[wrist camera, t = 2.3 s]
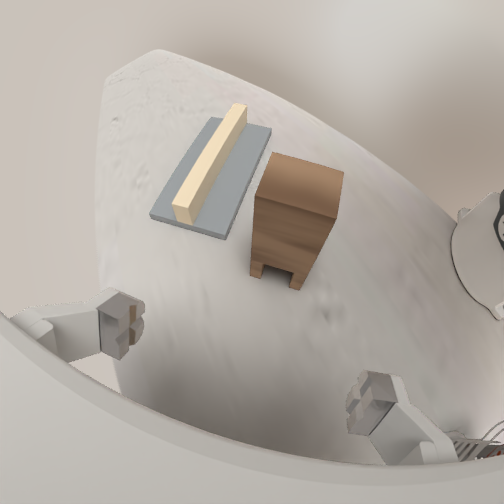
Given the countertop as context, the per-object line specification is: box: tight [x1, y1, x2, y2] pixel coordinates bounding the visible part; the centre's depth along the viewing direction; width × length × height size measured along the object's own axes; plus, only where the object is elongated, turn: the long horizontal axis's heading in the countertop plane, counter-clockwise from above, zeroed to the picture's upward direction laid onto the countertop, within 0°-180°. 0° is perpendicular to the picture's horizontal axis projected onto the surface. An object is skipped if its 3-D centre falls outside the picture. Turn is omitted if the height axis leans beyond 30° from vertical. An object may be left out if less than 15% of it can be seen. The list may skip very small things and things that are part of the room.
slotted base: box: [149, 103, 272, 240], centre depth 36 cm, size 20×10×5 cm, turn 163°
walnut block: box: [250, 152, 344, 290], centre depth 26 cm, size 4×6×14 cm
